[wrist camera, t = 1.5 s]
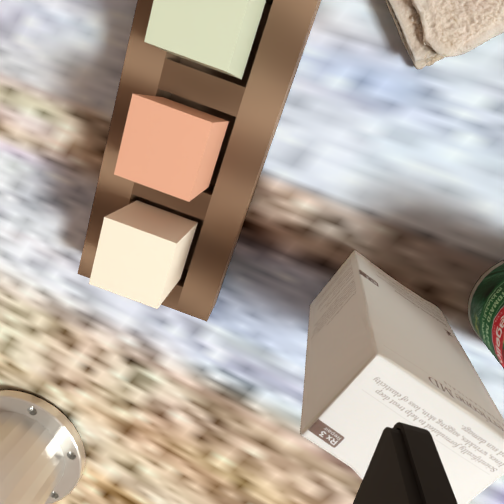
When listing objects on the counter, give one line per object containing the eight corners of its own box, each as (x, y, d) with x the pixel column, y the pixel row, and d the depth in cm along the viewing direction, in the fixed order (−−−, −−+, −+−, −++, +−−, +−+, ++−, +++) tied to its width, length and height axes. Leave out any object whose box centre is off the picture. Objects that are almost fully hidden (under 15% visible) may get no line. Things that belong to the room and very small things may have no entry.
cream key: (180, 279, 31) (157, 308, 26) (122, 257, 31) (88, 283, 26) (197, 222, 29) (176, 243, 24) (137, 200, 29) (104, 216, 24)
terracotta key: (208, 187, 28) (189, 201, 24) (145, 164, 28) (113, 174, 24) (228, 121, 27) (212, 122, 22) (163, 97, 27) (132, 93, 22)
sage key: (241, 79, 26) (227, 71, 21) (173, 54, 26) (144, 41, 21) (265, 1, 25) (256, -26, 20) (193, -25, 25) (167, -58, 20)
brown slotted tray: (215, 302, 34) (206, 321, 31) (97, 259, 34) (77, 273, 31) (325, -13, 27) (328, -29, 24) (174, -67, 27) (157, -90, 24)
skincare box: (440, 306, 32) (545, 457, 18) (388, 363, 34) (446, 538, 20) (348, 244, 31) (383, 350, 17) (300, 305, 33) (297, 445, 19)
